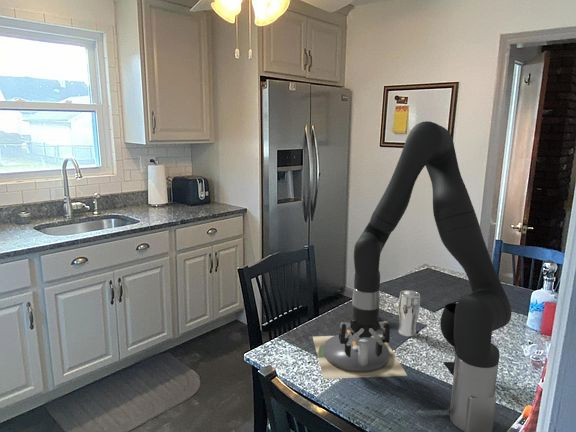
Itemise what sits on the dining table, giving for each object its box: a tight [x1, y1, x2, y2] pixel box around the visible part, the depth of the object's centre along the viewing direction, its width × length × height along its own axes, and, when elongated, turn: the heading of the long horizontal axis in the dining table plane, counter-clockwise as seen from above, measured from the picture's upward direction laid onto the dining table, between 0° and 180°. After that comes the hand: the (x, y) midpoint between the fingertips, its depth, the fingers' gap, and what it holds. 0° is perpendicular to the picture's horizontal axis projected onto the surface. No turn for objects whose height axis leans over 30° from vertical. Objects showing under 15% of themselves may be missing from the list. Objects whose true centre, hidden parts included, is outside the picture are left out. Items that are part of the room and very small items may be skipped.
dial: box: [324, 329, 389, 372], centre depth 128 cm, size 22×20×8 cm
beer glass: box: [397, 289, 421, 337], centre depth 141 cm, size 7×7×15 cm
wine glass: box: [439, 302, 457, 376], centre depth 119 cm, size 10×10×20 cm
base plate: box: [312, 333, 408, 380], centre depth 128 cm, size 24×24×1 cm
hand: (363, 355), depth 120 cm, fingers open, 8 cm apart
